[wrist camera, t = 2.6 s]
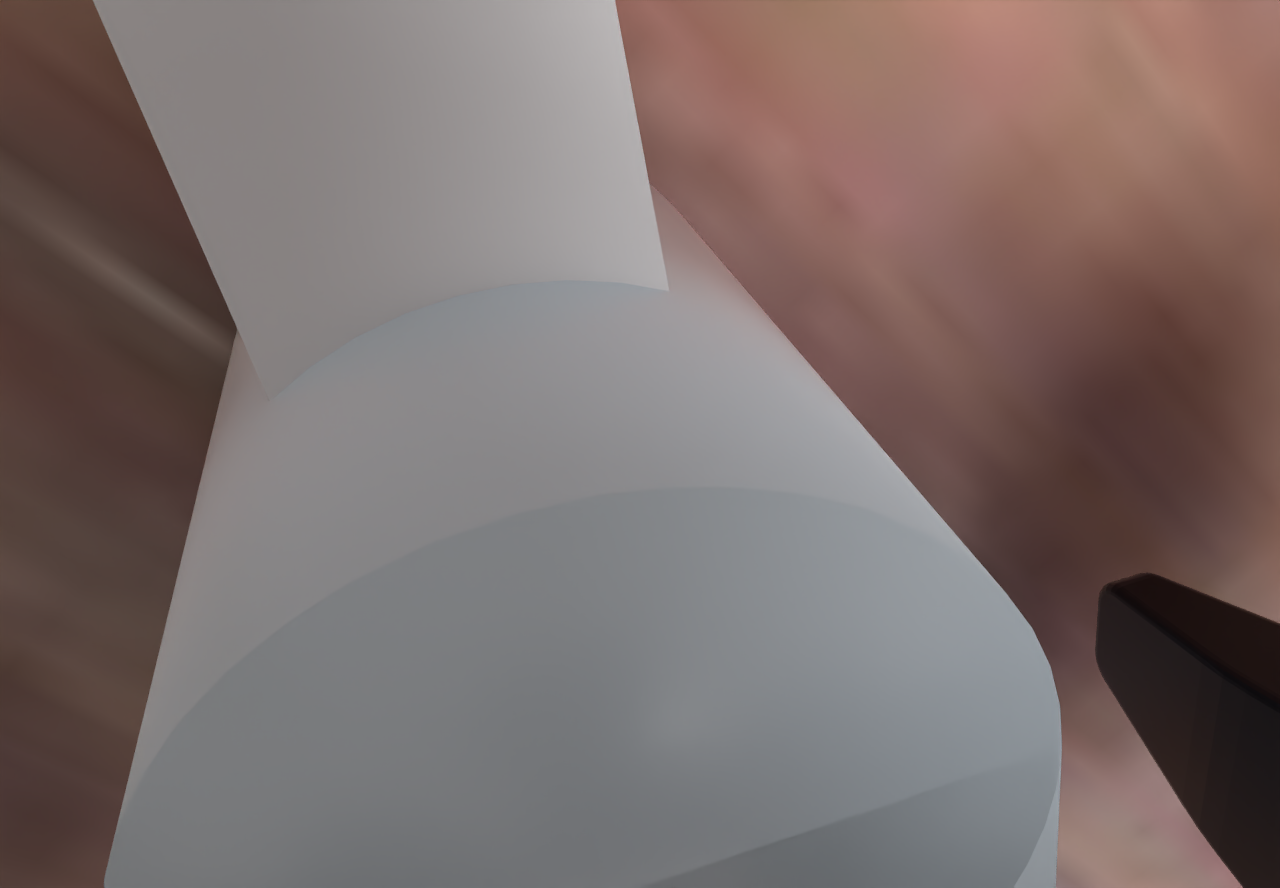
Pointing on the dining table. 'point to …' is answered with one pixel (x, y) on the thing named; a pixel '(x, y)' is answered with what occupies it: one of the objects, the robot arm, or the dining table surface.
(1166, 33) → the dining table surface
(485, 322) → the connector casing
